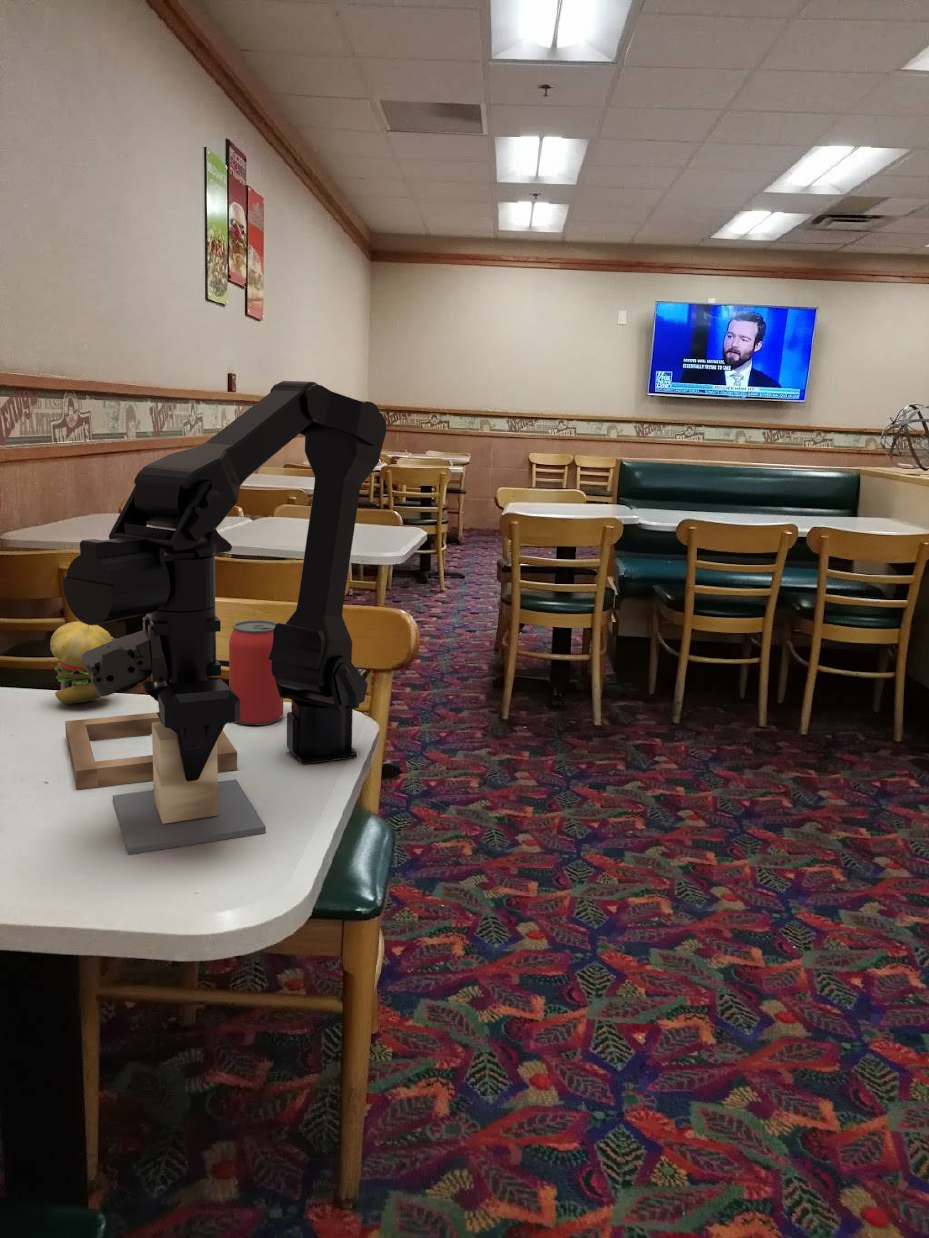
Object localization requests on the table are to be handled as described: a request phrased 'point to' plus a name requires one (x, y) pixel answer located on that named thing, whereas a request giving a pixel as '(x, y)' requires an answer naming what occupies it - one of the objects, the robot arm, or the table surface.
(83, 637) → the hamburger
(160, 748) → the maple block
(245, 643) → the beer can
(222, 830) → the rubber mat
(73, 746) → the wooden frame
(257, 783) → the table surface
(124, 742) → the table surface
